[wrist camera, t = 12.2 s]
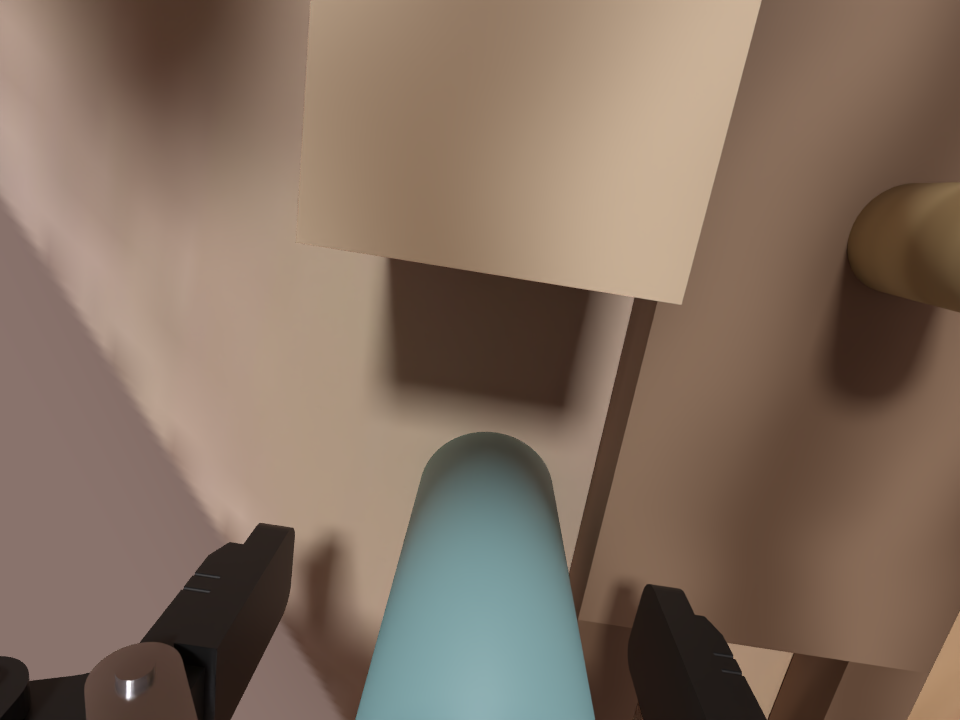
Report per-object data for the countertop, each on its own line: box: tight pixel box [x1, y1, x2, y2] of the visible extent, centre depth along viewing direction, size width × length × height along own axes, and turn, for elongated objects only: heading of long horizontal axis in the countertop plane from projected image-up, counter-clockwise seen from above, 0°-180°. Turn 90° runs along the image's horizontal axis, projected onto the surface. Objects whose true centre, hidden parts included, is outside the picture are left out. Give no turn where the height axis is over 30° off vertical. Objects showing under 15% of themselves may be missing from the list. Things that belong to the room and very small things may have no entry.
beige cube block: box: [296, 0, 762, 305], centre depth 10 cm, size 6×7×7 cm
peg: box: [355, 432, 595, 720], centre depth 13 cm, size 4×4×9 cm
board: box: [569, 0, 960, 720], centre depth 14 cm, size 10×24×6 cm, turn 171°
